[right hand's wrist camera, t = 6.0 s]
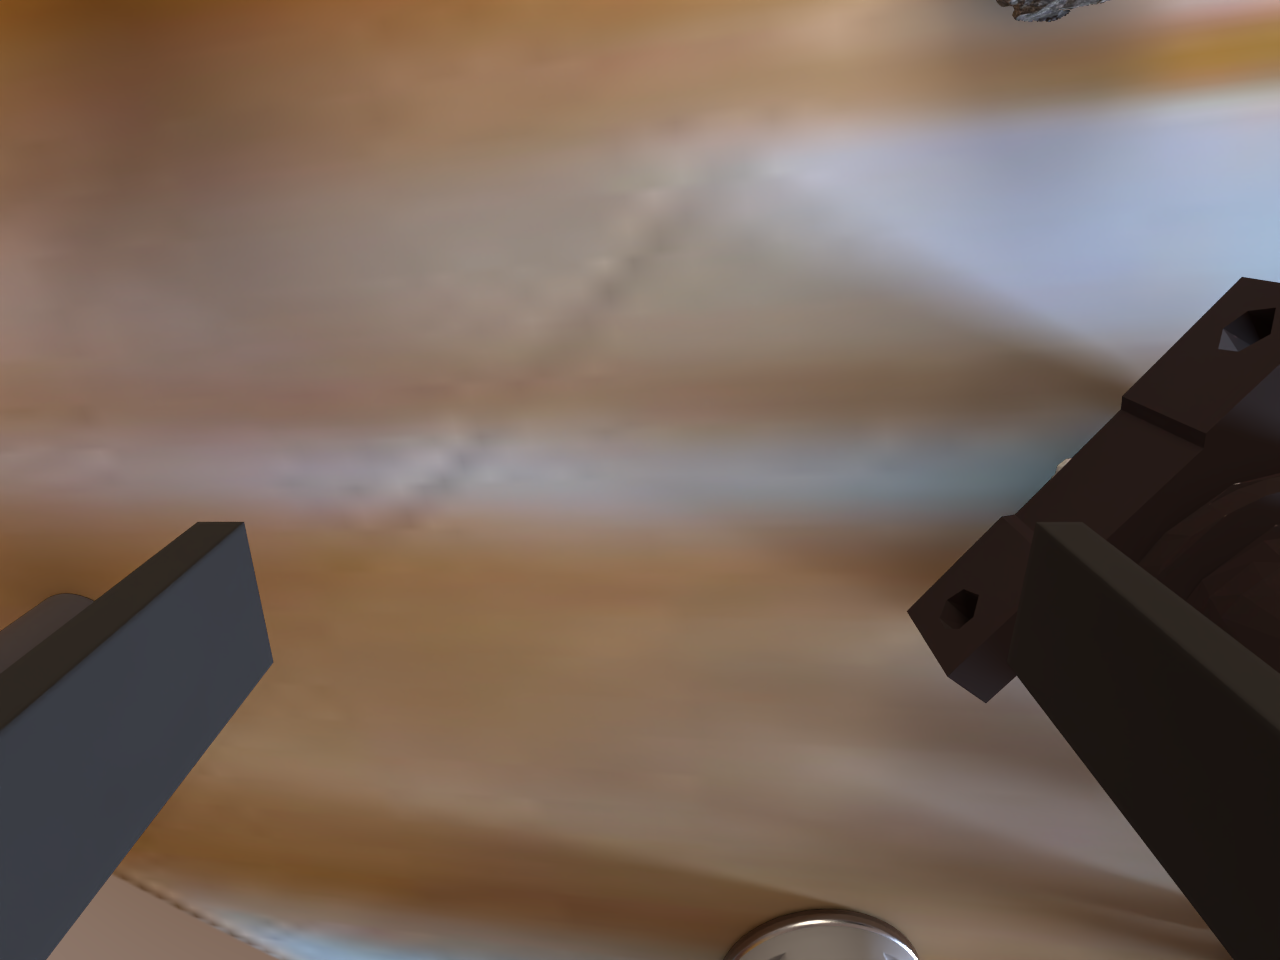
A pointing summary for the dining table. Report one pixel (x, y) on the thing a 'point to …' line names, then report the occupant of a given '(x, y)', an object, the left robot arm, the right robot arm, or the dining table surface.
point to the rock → (1043, 8)
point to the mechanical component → (1152, 498)
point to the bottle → (38, 626)
